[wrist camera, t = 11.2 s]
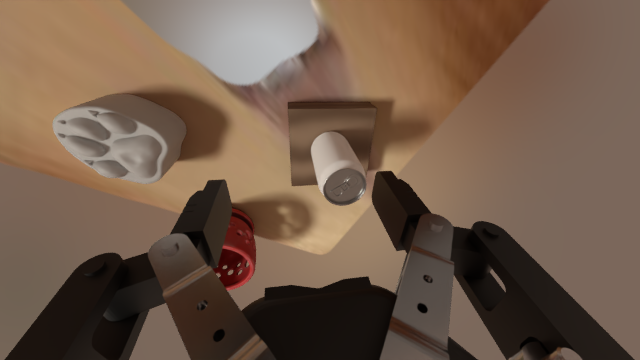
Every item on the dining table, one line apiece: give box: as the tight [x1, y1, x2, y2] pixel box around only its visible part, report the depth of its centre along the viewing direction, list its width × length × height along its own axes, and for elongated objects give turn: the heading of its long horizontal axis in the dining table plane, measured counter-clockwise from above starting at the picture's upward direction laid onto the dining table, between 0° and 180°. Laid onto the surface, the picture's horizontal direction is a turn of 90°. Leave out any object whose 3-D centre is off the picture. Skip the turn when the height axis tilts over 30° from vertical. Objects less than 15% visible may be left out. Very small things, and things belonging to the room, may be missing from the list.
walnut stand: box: [288, 102, 377, 186], centre depth 41 cm, size 14×14×4 cm
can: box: [311, 132, 367, 206], centre depth 34 cm, size 6×6×12 cm
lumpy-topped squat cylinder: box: [53, 94, 187, 184], centre depth 33 cm, size 10×13×9 cm
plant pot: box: [212, 208, 256, 291], centre depth 45 cm, size 13×13×12 cm
